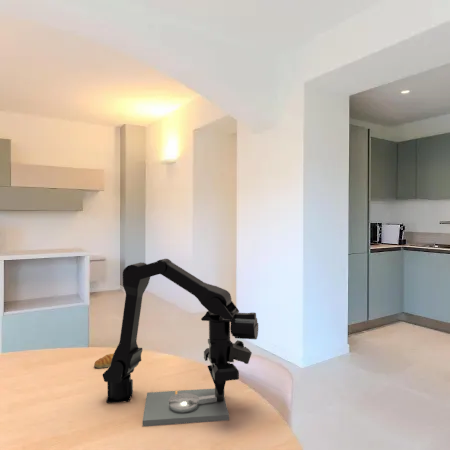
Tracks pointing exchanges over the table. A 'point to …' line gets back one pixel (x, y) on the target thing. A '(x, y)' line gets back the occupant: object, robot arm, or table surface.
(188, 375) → the table surface
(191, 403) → the silver handled piece
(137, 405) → the table surface
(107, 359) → the pastry
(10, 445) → the table surface
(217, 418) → the base plate
